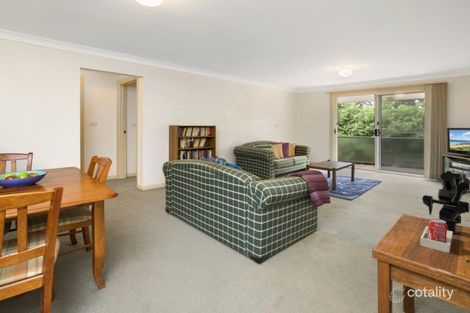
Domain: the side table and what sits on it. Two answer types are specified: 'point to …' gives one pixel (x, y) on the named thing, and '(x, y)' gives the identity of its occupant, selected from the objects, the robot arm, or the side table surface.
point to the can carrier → (435, 244)
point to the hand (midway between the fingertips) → (441, 217)
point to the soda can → (437, 230)
